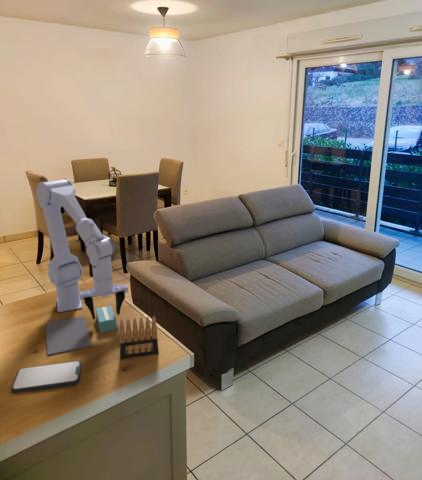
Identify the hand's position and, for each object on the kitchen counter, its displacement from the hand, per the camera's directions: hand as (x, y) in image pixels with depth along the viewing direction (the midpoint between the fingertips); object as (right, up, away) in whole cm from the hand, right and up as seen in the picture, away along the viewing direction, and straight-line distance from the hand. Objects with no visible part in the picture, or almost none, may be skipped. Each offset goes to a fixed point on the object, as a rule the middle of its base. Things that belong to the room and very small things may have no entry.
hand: (105, 315), depth 124 cm
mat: (-10, -5, -5) cm, 13 cm away
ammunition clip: (+13, -9, -14) cm, 21 cm away
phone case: (-8, -12, -24) cm, 28 cm away
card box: (0, -3, +1) cm, 3 cm away
